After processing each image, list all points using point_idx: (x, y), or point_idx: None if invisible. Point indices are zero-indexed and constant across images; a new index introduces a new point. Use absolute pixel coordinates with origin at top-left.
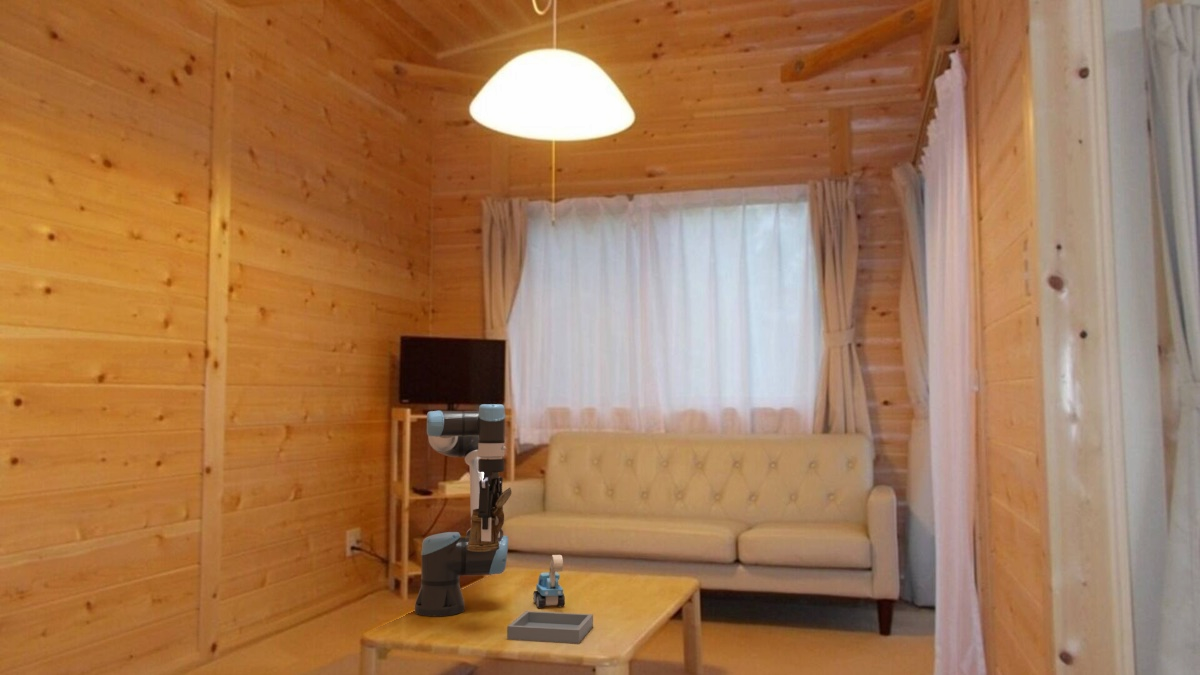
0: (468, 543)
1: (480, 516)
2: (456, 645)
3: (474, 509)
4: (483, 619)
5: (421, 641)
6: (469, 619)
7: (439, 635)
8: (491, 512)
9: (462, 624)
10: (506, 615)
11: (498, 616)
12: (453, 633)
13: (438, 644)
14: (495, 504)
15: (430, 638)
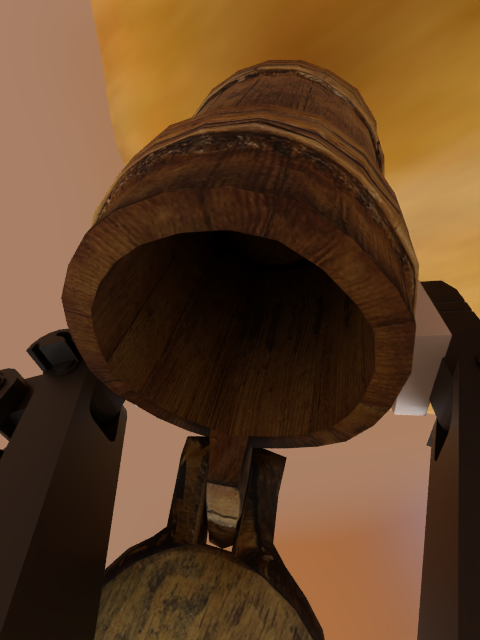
0: (209, 101)
1: (52, 360)
2: (132, 154)
3: (173, 213)
4: (399, 70)
5: (105, 27)
6: (394, 10)
7: (178, 41)
8: (206, 430)
9: (319, 31)
10: (463, 124)
11: (447, 102)
12: (214, 75)
13: (113, 102)
14: (109, 567)
15: (141, 34)
